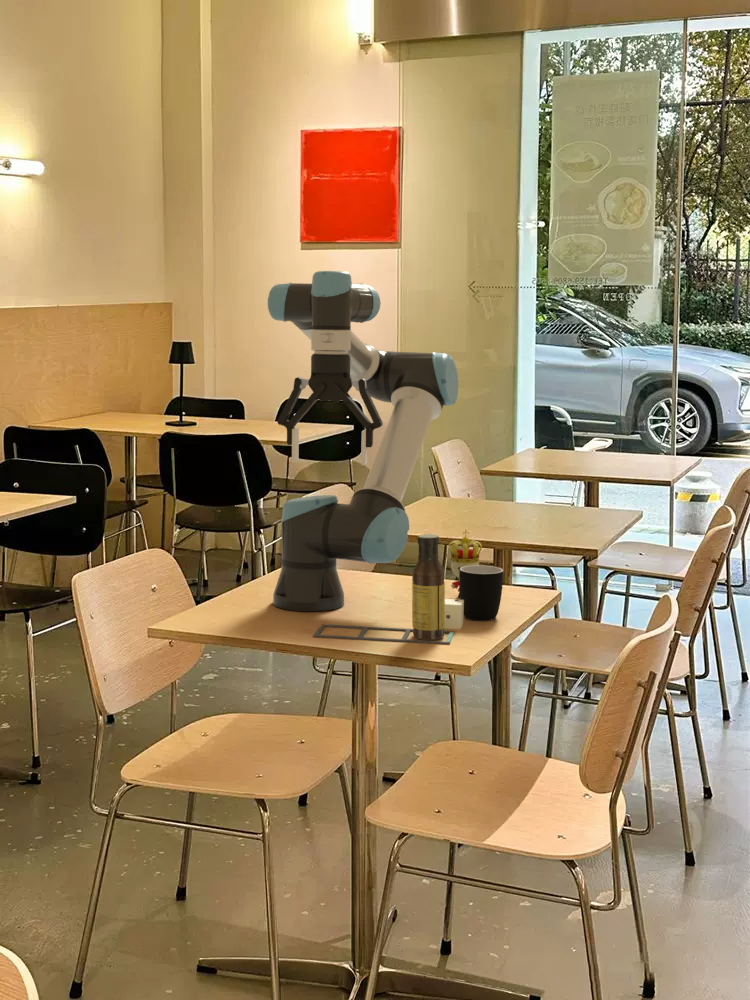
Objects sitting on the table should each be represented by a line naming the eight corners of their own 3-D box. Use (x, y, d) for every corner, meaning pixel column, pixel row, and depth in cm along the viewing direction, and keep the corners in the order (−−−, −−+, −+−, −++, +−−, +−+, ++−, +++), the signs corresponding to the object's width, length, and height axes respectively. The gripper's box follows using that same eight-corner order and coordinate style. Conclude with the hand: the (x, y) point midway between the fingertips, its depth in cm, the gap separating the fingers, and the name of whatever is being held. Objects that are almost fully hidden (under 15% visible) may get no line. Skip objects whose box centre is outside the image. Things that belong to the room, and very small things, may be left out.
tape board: (322, 625, 252) (322, 624, 251) (454, 632, 248) (454, 631, 248) (312, 636, 242) (312, 635, 242) (449, 644, 238) (449, 642, 238)
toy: (453, 600, 276) (455, 533, 274) (443, 593, 283) (445, 527, 281) (484, 599, 278) (486, 532, 276) (474, 592, 285) (476, 527, 283)
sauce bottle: (432, 631, 248) (434, 531, 245) (450, 638, 243) (453, 536, 240) (404, 635, 245) (406, 534, 242) (423, 642, 239) (425, 539, 237)
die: (438, 622, 256) (439, 597, 256) (463, 623, 255) (463, 598, 255) (435, 628, 251) (435, 602, 250) (460, 630, 250) (460, 604, 250)
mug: (510, 620, 259) (512, 571, 258) (473, 624, 255) (475, 575, 253) (478, 608, 269) (479, 561, 268) (442, 612, 265) (443, 564, 264)
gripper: (262, 352, 240) (262, 463, 243) (392, 354, 237) (390, 467, 240) (271, 351, 248) (271, 459, 251) (398, 353, 244) (395, 463, 247)
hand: (329, 463), depth 245 cm, fingers open, 13 cm apart
